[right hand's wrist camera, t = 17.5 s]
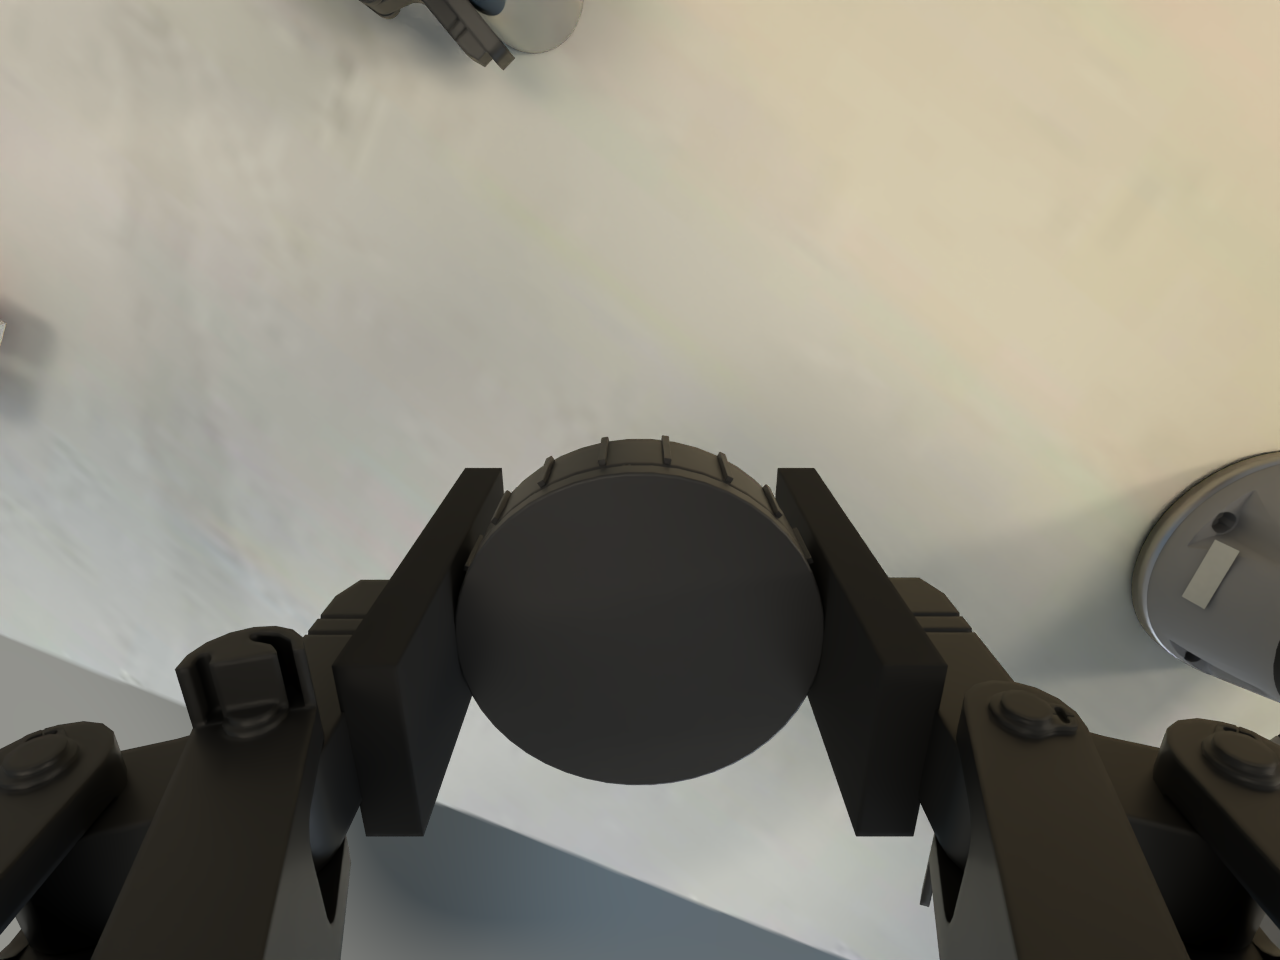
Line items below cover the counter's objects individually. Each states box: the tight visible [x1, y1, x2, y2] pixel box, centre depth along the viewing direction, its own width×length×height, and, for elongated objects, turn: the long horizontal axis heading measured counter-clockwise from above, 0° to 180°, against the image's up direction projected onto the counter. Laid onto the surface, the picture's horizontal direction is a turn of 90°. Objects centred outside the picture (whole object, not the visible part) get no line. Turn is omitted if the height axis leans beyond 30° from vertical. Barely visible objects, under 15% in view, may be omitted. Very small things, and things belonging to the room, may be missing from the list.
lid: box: [455, 436, 824, 785], centre depth 11 cm, size 6×6×2 cm
